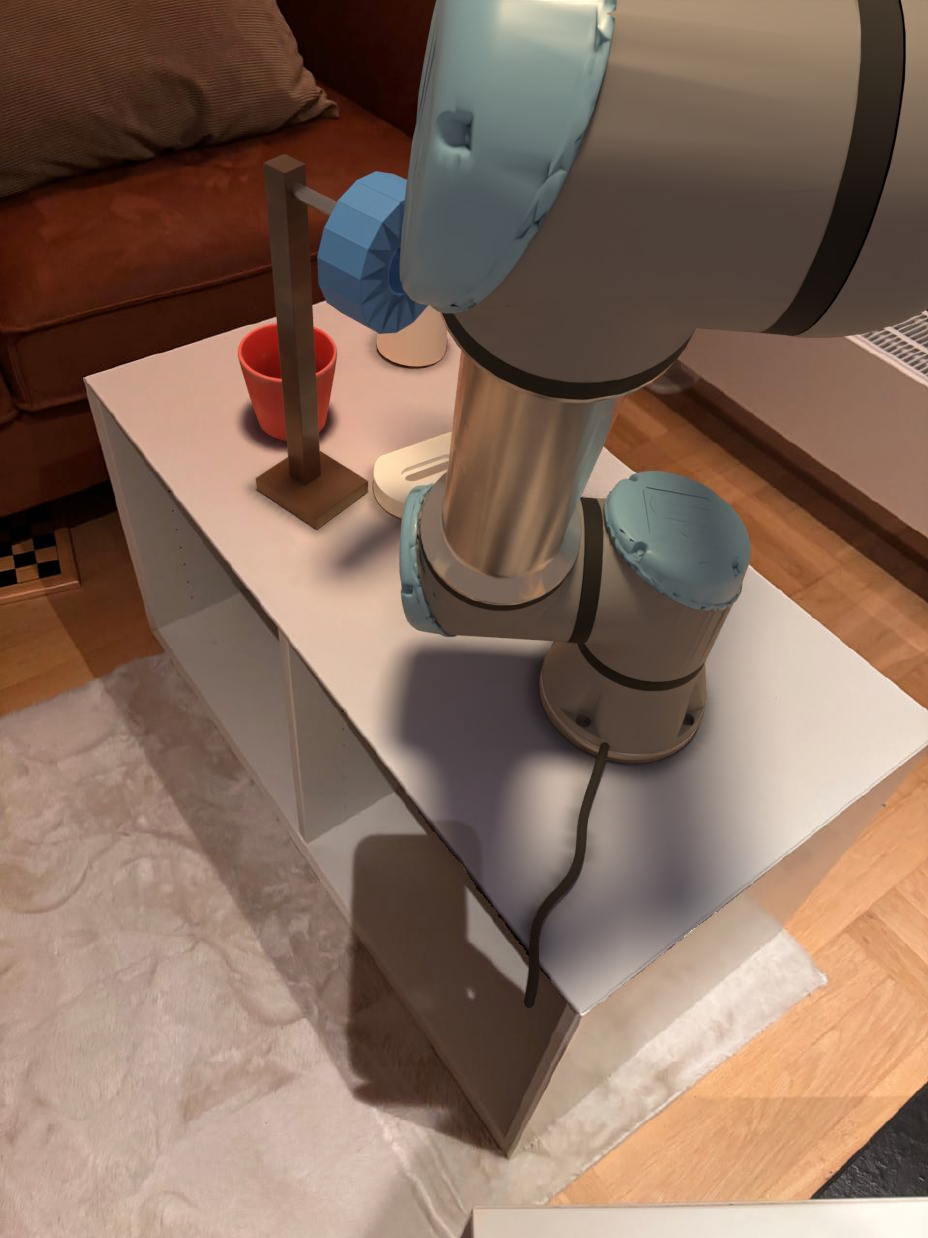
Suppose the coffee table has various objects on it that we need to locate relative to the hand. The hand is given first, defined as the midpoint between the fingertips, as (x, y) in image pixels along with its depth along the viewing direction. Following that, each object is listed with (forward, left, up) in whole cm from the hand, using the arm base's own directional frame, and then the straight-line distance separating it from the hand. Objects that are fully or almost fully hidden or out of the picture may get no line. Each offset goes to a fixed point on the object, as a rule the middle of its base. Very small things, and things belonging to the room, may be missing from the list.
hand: (529, 83), depth 73 cm
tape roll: (-10, +11, -9) cm, 18 cm away
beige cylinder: (+25, +6, -30) cm, 39 cm away
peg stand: (-6, +16, -41) cm, 44 cm away
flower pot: (+8, +21, -41) cm, 47 cm away
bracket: (-1, +3, -41) cm, 41 cm away
